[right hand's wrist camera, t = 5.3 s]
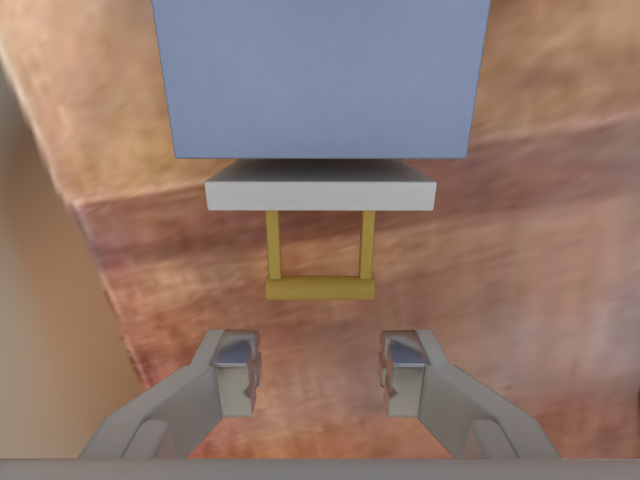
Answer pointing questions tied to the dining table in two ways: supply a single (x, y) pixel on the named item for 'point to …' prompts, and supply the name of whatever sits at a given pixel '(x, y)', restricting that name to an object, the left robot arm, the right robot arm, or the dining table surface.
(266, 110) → the cabinet
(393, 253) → the dining table surface
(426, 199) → the drawer
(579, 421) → the dining table surface
